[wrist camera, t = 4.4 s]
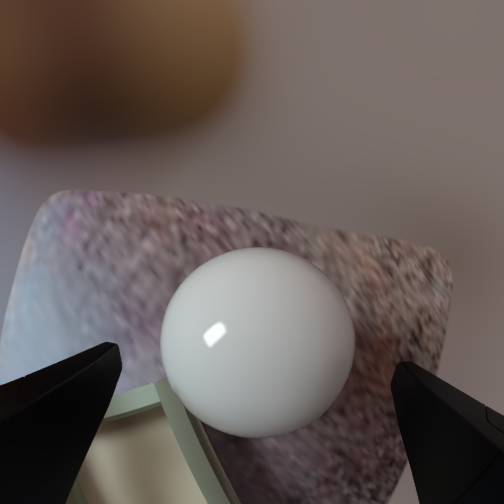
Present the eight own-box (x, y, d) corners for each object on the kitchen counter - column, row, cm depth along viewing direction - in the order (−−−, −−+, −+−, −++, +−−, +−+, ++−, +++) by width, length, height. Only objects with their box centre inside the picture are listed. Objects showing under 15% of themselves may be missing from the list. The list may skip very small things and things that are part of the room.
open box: (109, 553, 10) (89, 569, 7) (51, 421, 14) (23, 419, 12) (255, 526, 12) (256, 546, 9) (184, 382, 16) (171, 376, 14)
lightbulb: (306, 428, 15) (385, 448, 5) (193, 418, 15) (110, 423, 6) (312, 324, 18) (376, 217, 9) (207, 315, 18) (162, 199, 9)
